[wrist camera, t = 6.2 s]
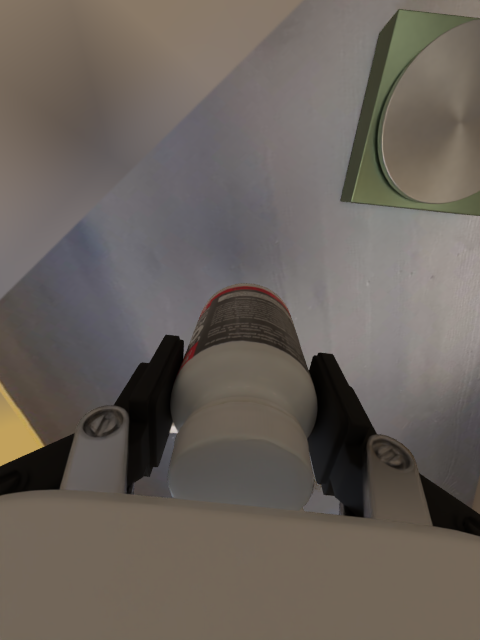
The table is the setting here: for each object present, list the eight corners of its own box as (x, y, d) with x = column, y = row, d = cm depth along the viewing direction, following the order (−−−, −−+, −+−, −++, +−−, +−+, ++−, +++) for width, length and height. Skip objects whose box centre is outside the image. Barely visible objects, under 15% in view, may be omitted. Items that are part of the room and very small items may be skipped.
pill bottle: (191, 287, 15) (111, 423, 6) (287, 275, 15) (347, 404, 6) (209, 366, 17) (169, 547, 9) (293, 357, 17) (342, 540, 8)
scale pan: (359, 196, 23) (363, 196, 22) (406, 15, 18) (413, 8, 17) (488, 210, 23) (496, 210, 22) (568, 34, 18) (581, 27, 17)
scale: (340, 201, 26) (350, 202, 23) (379, 32, 21) (398, 8, 18) (467, 214, 26) (492, 217, 23) (537, 50, 21) (580, 29, 18)
